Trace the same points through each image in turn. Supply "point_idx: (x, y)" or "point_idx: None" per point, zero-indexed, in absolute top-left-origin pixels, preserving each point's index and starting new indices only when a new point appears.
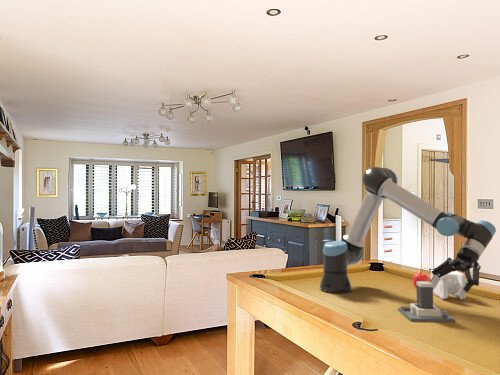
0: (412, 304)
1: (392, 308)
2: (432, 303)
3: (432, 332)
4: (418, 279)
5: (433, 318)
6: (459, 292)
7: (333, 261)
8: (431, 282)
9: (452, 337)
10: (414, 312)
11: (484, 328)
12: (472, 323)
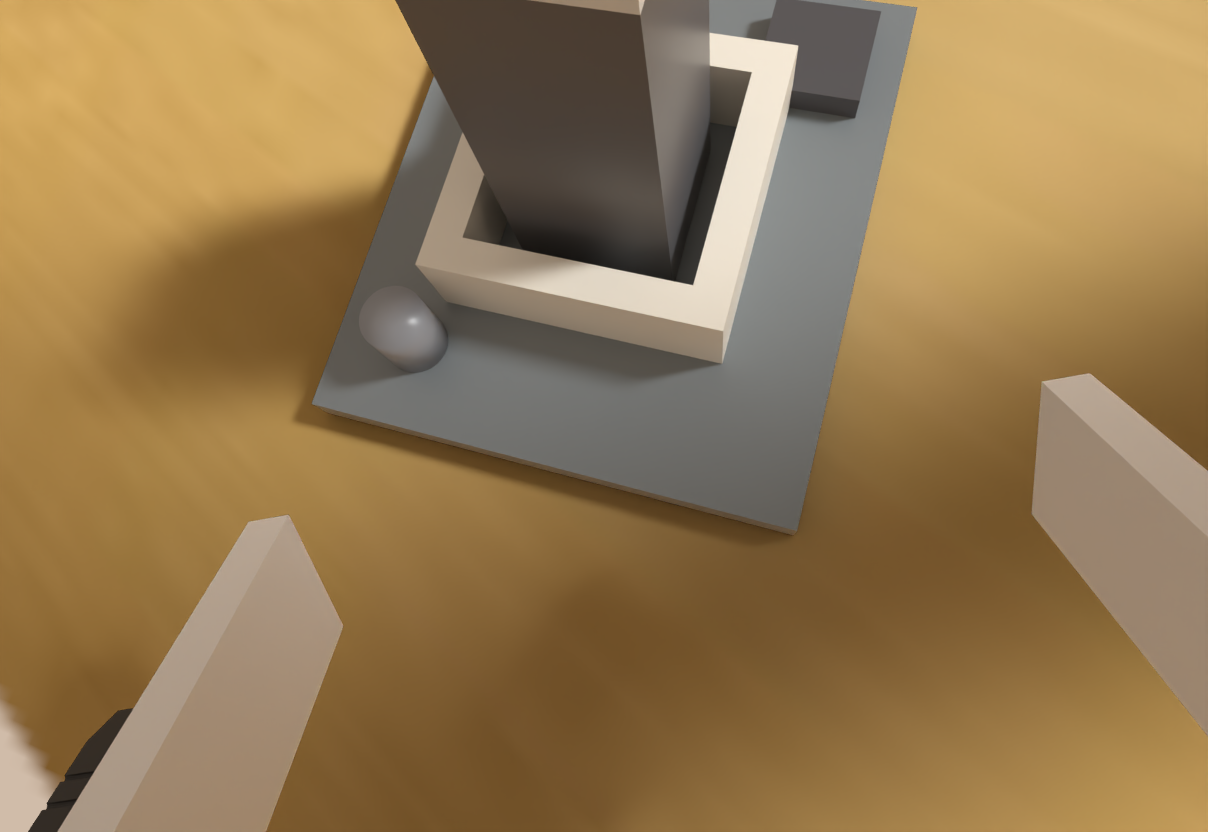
0: (741, 52)
1: (997, 8)
2: (488, 170)
3: (170, 4)
4: None
5: (407, 175)
6: (227, 565)
7: None
8: (1154, 461)
9: (18, 91)
10: None
11: (49, 573)
12: None
